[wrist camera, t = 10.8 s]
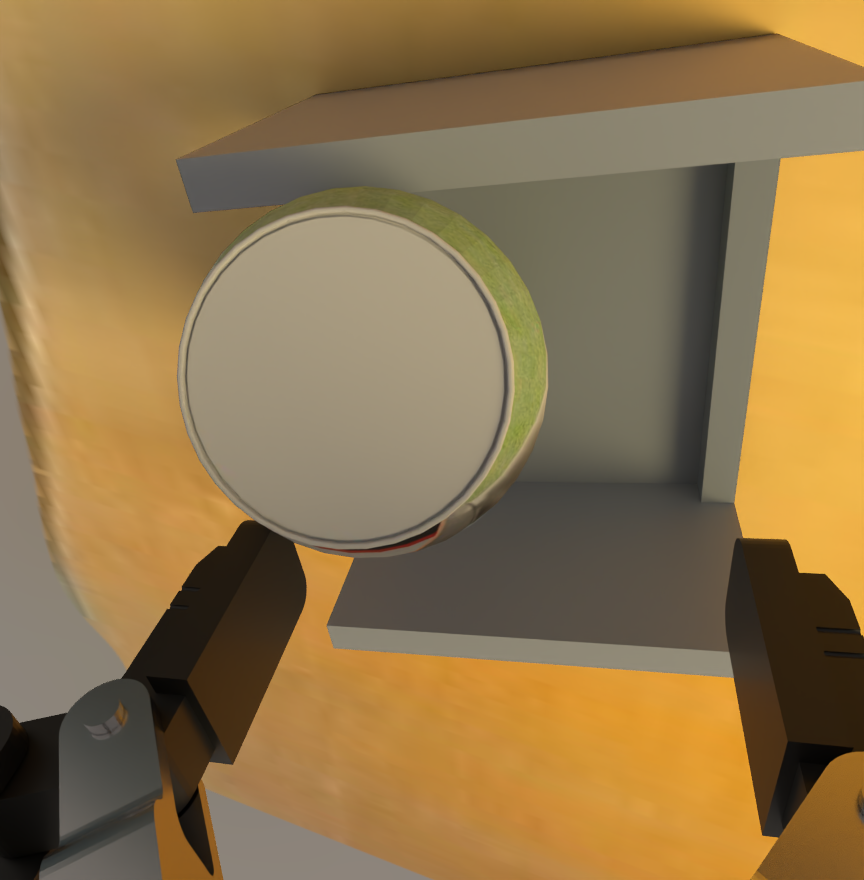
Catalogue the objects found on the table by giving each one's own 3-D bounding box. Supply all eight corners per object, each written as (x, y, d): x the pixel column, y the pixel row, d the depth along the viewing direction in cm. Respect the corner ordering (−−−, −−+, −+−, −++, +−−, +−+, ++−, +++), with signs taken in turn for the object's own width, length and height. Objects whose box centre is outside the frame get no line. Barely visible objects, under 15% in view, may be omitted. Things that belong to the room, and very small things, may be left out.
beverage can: (322, 423, 22) (92, 612, 11) (360, 190, 20) (122, 125, 9) (509, 470, 22) (470, 719, 10) (570, 235, 20) (604, 229, 8)
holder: (315, 94, 19) (175, 159, 13) (777, 33, 17) (891, 77, 10) (396, 485, 27) (333, 648, 21) (722, 489, 24) (767, 680, 18)
